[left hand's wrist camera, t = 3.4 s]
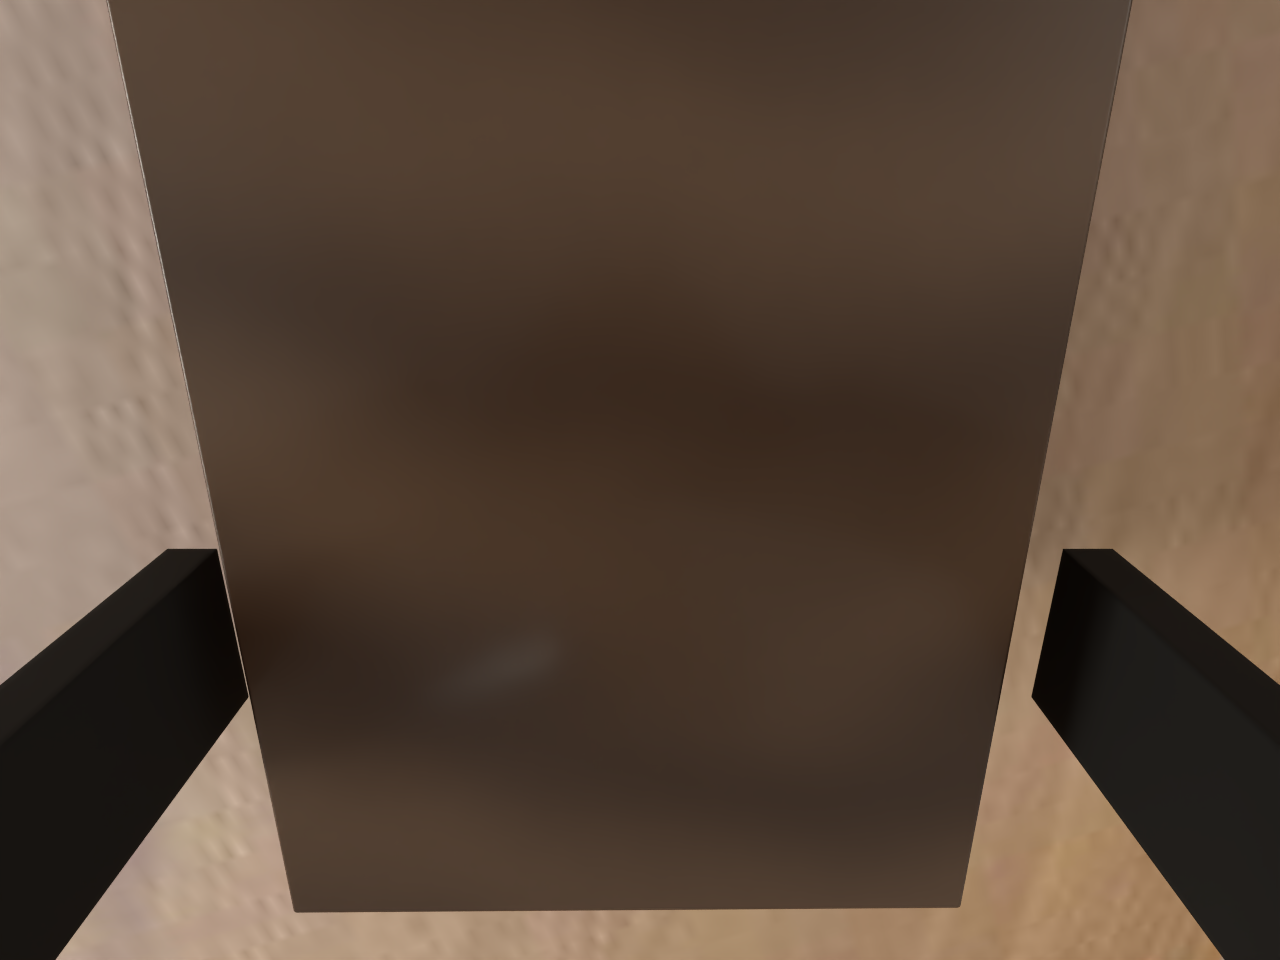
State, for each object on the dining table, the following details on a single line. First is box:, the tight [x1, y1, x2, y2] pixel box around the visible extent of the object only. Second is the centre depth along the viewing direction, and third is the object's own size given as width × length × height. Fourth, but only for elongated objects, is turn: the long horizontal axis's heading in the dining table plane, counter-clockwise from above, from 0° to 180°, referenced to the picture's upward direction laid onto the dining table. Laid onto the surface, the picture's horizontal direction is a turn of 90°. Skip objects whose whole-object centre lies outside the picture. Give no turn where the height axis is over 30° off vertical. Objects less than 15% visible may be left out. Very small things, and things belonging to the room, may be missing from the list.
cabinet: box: [106, 0, 1132, 913], centre depth 14 cm, size 18×10×10 cm, turn 0°
